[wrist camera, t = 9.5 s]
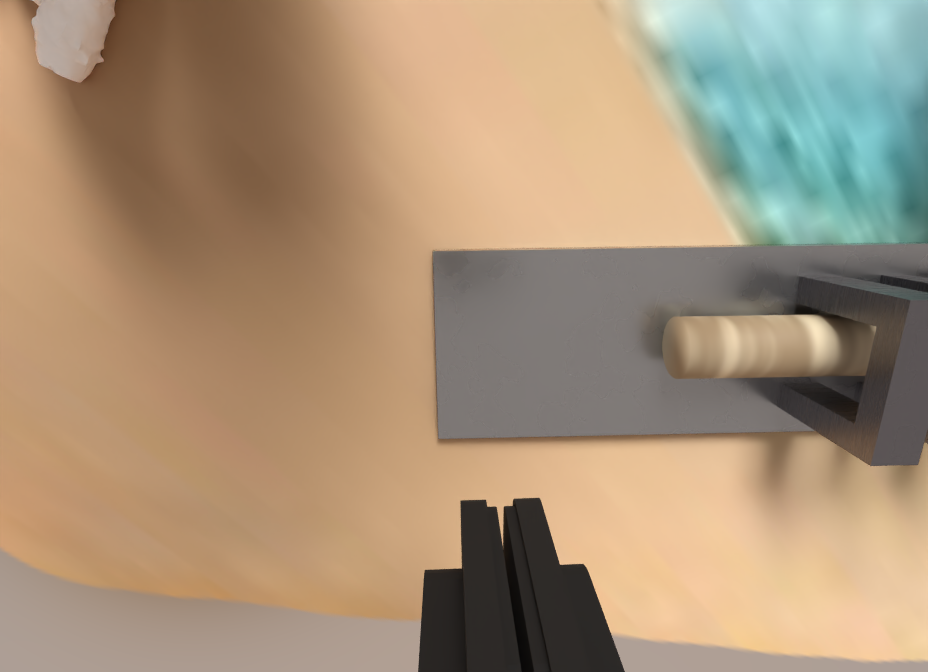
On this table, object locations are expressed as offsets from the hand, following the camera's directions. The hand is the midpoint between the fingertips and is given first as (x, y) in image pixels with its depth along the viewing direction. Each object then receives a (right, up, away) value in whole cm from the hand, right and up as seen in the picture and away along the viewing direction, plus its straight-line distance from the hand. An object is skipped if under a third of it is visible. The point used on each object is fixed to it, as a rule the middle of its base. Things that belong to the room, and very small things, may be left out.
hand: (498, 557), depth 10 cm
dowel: (+23, +4, +20) cm, 31 cm away
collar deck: (+17, +4, +20) cm, 27 cm away
